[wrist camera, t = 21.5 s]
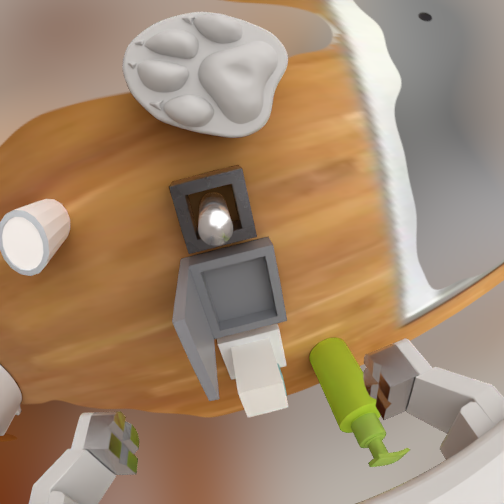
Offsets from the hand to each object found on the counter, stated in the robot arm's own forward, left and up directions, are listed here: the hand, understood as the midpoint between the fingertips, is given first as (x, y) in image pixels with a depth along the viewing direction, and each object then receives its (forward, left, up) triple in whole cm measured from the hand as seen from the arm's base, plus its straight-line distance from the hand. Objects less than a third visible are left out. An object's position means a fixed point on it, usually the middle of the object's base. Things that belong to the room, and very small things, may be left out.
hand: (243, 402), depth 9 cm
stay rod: (0, 0, -25) cm, 25 cm away
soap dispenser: (+11, -25, -25) cm, 38 cm away
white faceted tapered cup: (-19, +4, -25) cm, 32 cm away
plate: (0, -20, -25) cm, 32 cm away
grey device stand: (0, -10, -25) cm, 27 cm away
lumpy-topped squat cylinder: (+2, +13, -25) cm, 29 cm away
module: (0, -20, -24) cm, 31 cm away
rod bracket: (0, 0, -25) cm, 25 cm away
